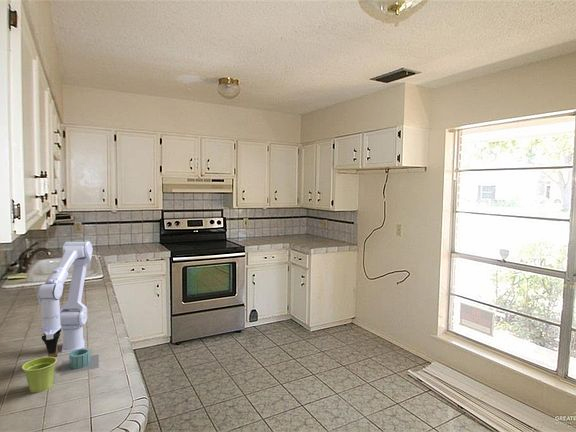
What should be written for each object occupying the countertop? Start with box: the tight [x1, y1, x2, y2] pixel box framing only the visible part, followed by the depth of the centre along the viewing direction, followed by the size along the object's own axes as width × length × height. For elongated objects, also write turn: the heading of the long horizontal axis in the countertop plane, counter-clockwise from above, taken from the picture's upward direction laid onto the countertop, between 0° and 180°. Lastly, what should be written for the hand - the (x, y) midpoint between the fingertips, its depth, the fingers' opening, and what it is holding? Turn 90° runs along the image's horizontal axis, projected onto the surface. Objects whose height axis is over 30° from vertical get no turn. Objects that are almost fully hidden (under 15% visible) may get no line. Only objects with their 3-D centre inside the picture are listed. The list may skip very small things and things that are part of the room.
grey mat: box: [60, 354, 100, 376], centre depth 135 cm, size 12×12×1 cm
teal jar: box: [68, 347, 92, 369], centre depth 135 cm, size 7×7×5 cm
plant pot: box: [21, 356, 58, 394], centre depth 119 cm, size 9×9×9 cm
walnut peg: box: [47, 334, 58, 358], centre depth 135 cm, size 3×3×8 cm
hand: (52, 351), depth 135 cm, fingers closed on walnut peg, 3 cm apart
